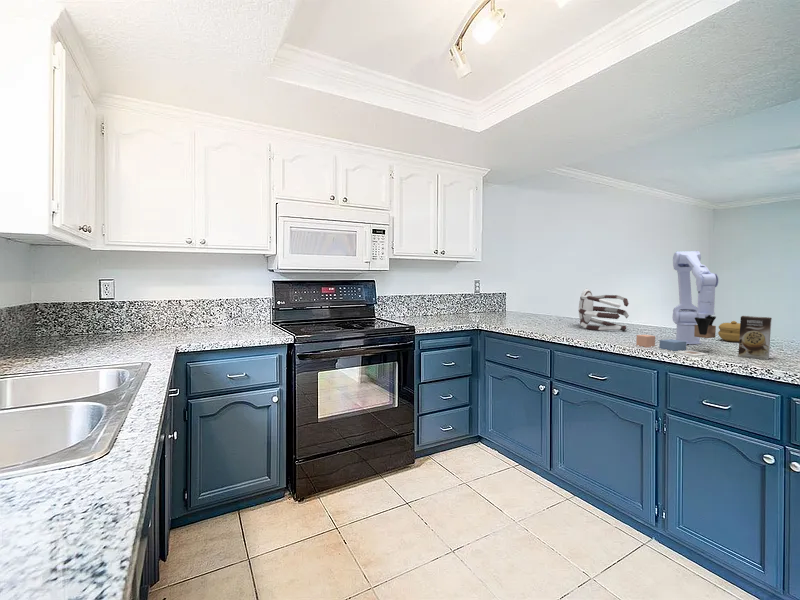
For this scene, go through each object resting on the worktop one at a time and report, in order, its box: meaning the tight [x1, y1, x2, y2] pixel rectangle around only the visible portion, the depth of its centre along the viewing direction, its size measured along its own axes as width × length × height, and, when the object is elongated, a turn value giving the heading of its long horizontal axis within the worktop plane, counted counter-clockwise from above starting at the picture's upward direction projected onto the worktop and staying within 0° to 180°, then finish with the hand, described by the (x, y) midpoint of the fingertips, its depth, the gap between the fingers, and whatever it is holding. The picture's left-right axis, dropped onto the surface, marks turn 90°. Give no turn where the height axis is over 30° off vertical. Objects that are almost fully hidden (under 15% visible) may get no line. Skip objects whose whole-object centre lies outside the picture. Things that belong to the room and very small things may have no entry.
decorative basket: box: [578, 288, 630, 332], centre depth 245 cm, size 24×27×35 cm
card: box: [675, 350, 709, 357], centre depth 167 cm, size 8×8×1 cm
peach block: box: [635, 334, 656, 348], centre depth 185 cm, size 5×5×5 cm
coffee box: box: [737, 315, 773, 360], centre depth 159 cm, size 9×6×16 cm
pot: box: [717, 320, 740, 343], centre depth 196 cm, size 12×12×10 cm
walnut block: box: [694, 324, 717, 339], centre depth 171 cm, size 5×5×5 cm
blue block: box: [659, 338, 687, 352], centre depth 177 cm, size 7×7×4 cm
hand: (704, 333), depth 171 cm, fingers closed on walnut block, 7 cm apart
